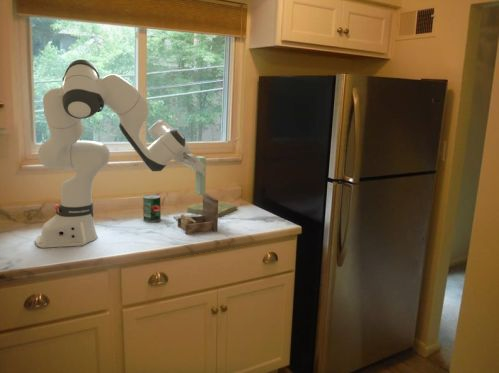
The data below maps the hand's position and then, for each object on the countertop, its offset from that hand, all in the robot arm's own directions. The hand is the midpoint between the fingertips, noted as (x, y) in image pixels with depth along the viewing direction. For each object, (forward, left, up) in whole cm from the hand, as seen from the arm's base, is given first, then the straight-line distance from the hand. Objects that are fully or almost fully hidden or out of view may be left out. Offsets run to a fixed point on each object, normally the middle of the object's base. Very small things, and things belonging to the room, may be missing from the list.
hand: (201, 173), depth 188 cm
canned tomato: (-17, +20, -25) cm, 36 cm away
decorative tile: (+15, +25, -25) cm, 39 cm away
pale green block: (-1, 0, -9) cm, 9 cm away
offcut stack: (-6, -1, -24) cm, 25 cm away
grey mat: (-1, +13, -24) cm, 28 cm away
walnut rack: (-3, -1, -24) cm, 25 cm away
